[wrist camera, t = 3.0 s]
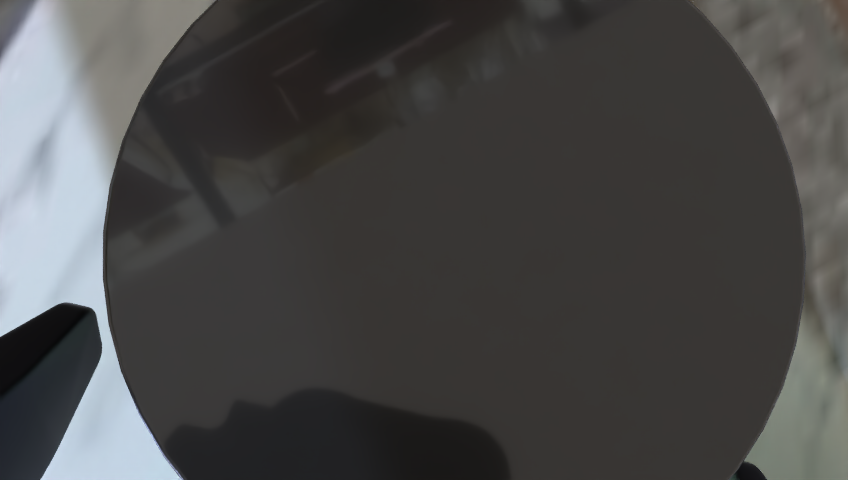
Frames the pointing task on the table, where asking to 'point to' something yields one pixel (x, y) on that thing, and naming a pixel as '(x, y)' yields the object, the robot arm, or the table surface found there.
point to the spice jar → (454, 244)
